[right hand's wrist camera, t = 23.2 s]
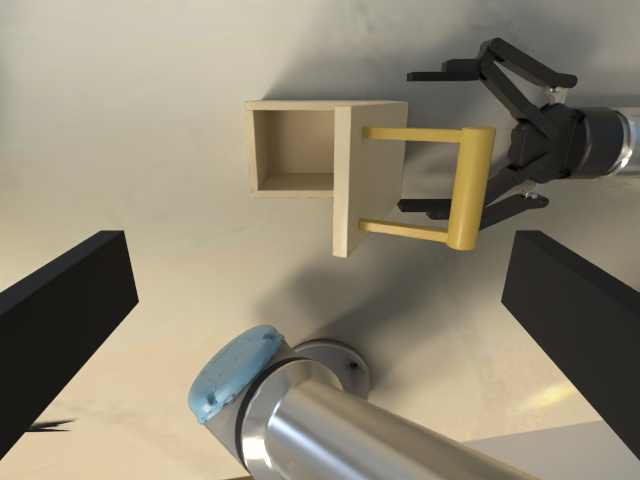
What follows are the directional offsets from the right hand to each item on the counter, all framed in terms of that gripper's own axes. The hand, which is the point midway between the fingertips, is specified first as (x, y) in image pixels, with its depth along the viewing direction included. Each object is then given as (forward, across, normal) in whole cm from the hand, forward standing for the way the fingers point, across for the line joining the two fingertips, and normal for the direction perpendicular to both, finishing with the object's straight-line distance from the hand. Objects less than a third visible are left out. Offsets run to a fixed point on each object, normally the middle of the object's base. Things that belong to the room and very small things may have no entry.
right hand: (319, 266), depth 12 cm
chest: (+36, 0, 0) cm, 36 cm away
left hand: (+29, -9, 0) cm, 31 cm away
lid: (+19, -4, 0) cm, 19 cm away
